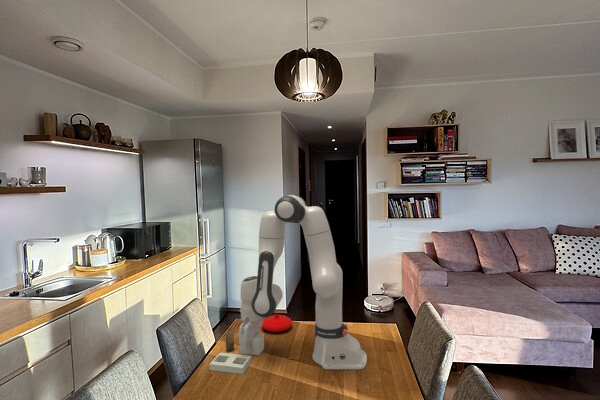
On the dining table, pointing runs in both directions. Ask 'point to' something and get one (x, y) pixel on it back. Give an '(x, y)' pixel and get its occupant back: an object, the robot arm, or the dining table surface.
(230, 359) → the peg board
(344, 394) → the dining table surface
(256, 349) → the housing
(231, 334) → the peg
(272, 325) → the red domed lid
